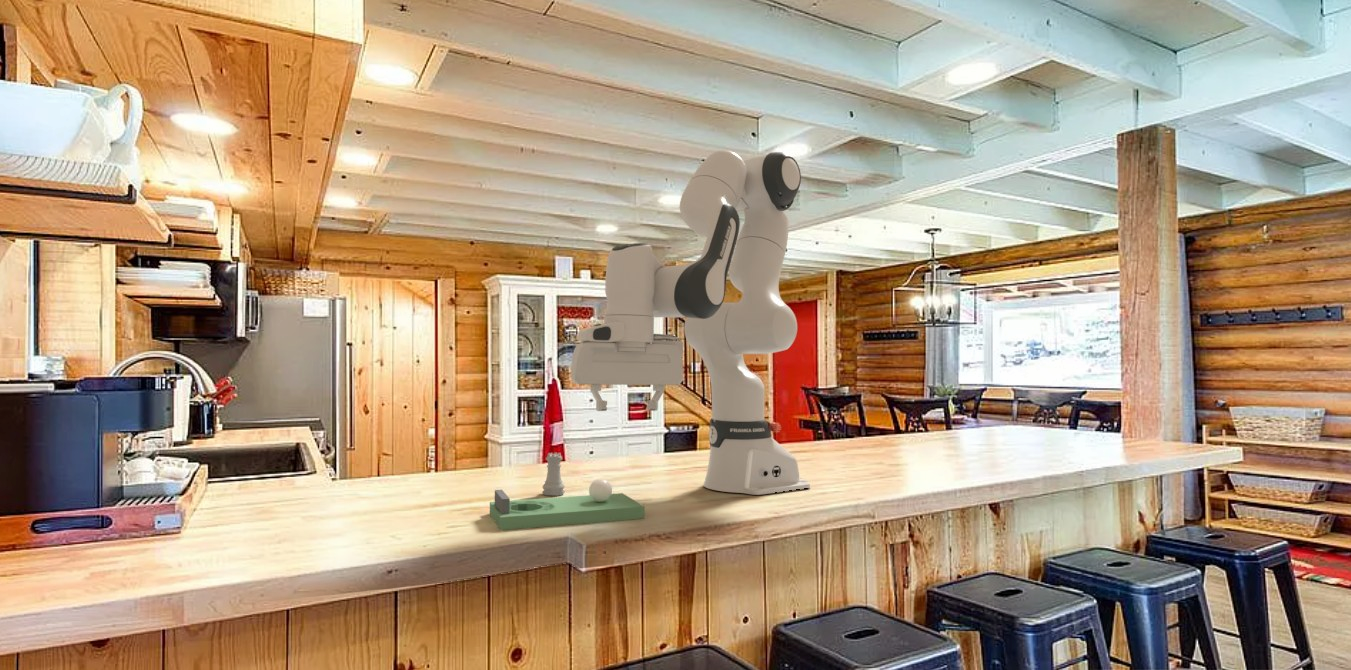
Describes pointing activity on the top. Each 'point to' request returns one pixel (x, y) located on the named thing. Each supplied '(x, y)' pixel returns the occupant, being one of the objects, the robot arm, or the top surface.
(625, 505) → the green board
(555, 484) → the rook chess piece
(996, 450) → the top surface
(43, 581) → the top surface
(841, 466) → the top surface
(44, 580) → the top surface
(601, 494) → the ball
